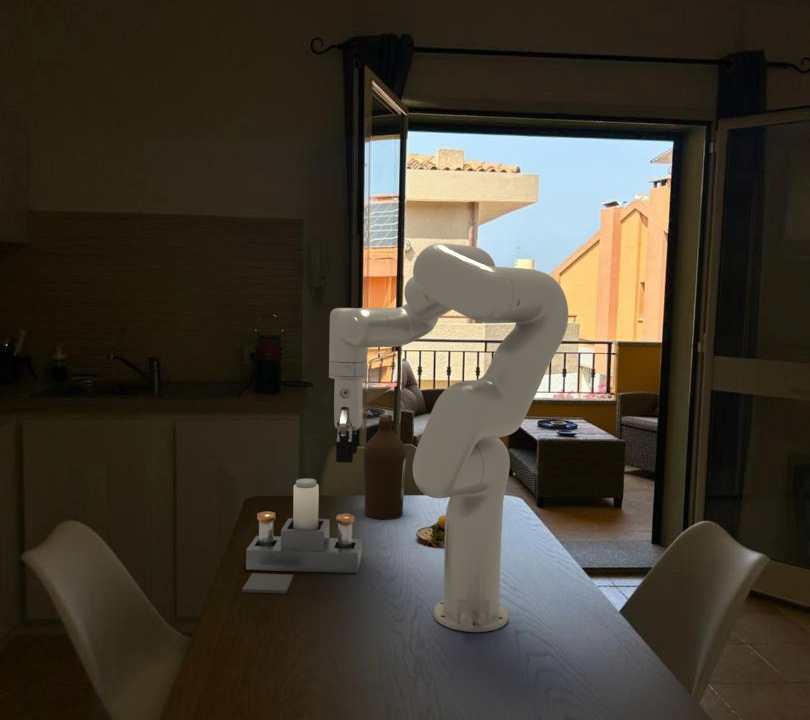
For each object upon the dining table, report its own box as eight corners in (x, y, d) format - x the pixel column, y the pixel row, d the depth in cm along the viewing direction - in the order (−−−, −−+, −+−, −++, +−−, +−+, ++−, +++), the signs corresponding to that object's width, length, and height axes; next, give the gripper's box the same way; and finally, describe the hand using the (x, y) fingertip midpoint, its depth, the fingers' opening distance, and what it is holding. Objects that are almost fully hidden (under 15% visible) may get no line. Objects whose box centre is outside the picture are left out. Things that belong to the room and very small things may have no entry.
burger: (448, 530, 181) (448, 499, 180) (479, 544, 171) (479, 511, 170) (405, 537, 174) (405, 505, 174) (434, 553, 164) (435, 518, 164)
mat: (286, 593, 139) (286, 590, 139) (242, 592, 139) (242, 589, 139) (293, 577, 147) (293, 574, 147) (252, 576, 147) (252, 573, 147)
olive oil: (366, 521, 185) (368, 419, 183) (359, 509, 196) (360, 412, 194) (409, 519, 188) (411, 418, 186) (399, 507, 198) (401, 411, 196)
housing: (361, 557, 159) (362, 519, 159) (357, 573, 150) (358, 533, 150) (256, 554, 160) (256, 516, 159) (246, 569, 151) (246, 529, 150)
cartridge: (316, 548, 152) (316, 484, 151) (291, 547, 152) (291, 483, 151) (319, 540, 157) (320, 478, 156) (295, 539, 157) (295, 477, 156)
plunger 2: (352, 558, 153) (353, 519, 152) (334, 557, 153) (335, 518, 152) (354, 552, 157) (355, 513, 156) (337, 551, 157) (337, 513, 156)
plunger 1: (273, 555, 153) (273, 516, 153) (255, 555, 153) (255, 516, 153) (276, 550, 157) (276, 511, 156) (259, 549, 157) (259, 511, 156)
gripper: (363, 375, 143) (361, 467, 145) (370, 367, 160) (368, 449, 162) (323, 374, 143) (322, 466, 145) (334, 366, 161) (333, 448, 162)
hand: (346, 457), depth 153 cm, fingers open, 8 cm apart
